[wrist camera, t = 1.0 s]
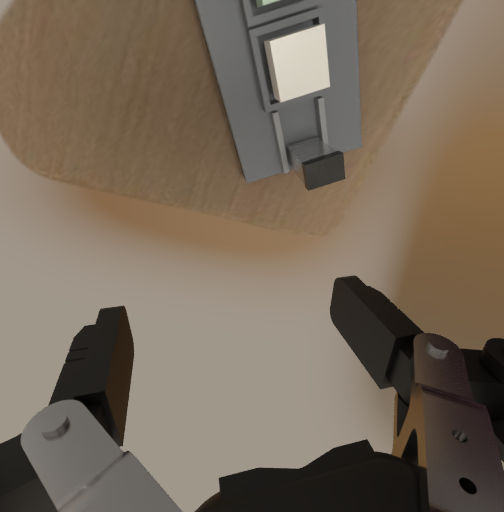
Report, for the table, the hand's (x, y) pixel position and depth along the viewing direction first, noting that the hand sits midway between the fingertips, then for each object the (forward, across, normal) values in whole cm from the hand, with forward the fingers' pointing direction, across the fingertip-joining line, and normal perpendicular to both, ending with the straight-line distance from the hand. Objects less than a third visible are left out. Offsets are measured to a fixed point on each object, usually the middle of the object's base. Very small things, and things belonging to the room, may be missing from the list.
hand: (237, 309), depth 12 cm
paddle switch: (+20, -10, -2) cm, 22 cm away
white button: (+18, -8, -9) cm, 22 cm away
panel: (+21, -8, -10) cm, 25 cm away
